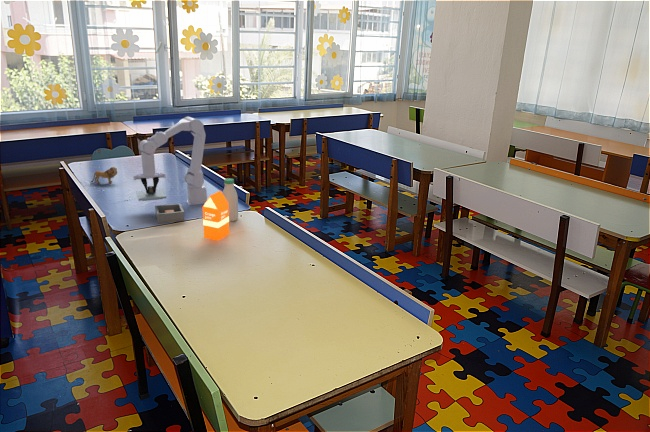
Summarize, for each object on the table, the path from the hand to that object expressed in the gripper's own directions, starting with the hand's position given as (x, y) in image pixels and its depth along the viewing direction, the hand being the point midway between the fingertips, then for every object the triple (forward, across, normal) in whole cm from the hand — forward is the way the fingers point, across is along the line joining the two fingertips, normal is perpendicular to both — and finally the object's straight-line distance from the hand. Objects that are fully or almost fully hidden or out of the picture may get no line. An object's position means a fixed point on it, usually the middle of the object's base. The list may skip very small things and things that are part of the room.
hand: (151, 192), depth 243 cm
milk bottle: (+10, +34, -21) cm, 41 cm away
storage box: (+10, +7, -12) cm, 17 cm away
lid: (+2, 0, 0) cm, 2 cm away
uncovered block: (+9, +7, -12) cm, 16 cm away
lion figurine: (+10, -20, +56) cm, 61 cm away
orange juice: (+10, +24, -39) cm, 46 cm away
